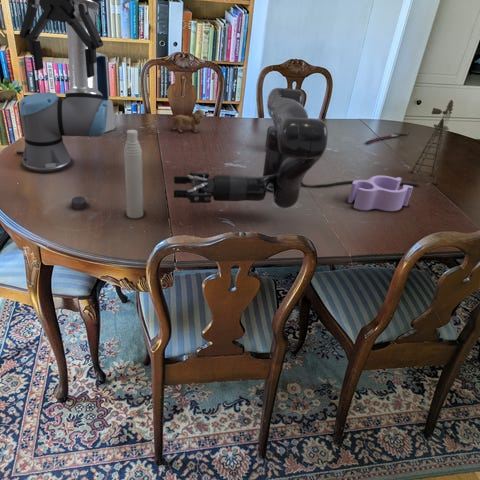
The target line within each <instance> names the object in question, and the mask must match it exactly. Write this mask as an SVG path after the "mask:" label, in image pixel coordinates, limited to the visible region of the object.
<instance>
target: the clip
mask: <svg viewBox="0 0 480 480" xmlns="http://www.w3.org/2000/svg"><path fill="white" fill-rule="evenodd" d="M402 179H403V178H402V177H399V176H398V177H393V176H389V175H374V176H371V177H370V178H369V179H355V180H352V181H353V183H351V187H350V191H349V195H348V199H347V203H348V204H349V203H350V204H352V203H353V202H354V204H353V208H354V209H356V210H360V211H370V210H373V209H374V210H375V209H376V210H380V211H383V212H396V211H399V210H401V209H402V207H403V206H404V207H408V204H409V202H410V198H411V195H412V192H413V189H414V185H403V184H402V188H401V189H399V188H400V185H401V184H400V182H402Z"/></svg>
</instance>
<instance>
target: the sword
mask: <svg viewBox="0 0 480 480" xmlns="http://www.w3.org/2000/svg"><path fill="white" fill-rule="evenodd" d="M402 133H403V132H400V133H397V132H395V133H393V134H389V135H384V136H381V137H375V138H373V139H369V140H367V141H366V142H365V145H368V144H371V143H374V142H377V141H381V140H385V139H389V138H394V137H400V136H403V135H404V136H405V134H402ZM409 134H410V132H408V134H407V135H409Z"/></svg>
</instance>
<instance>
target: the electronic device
mask: <svg viewBox="0 0 480 480" xmlns="http://www.w3.org/2000/svg"><path fill="white" fill-rule="evenodd" d="M96 57H97V61H96V62H97V86H98V91H99V92H100V93H101V94H102V95H103V100H105V101H107V104H108V107H107V122H106V128H105V132H104V133H106V132H111V131H113V130H114V129H115V127H116V116H115V110H114V102H113V100H112V99H110V88H109V87H110V86H109V71H108V70H109V69H108V55H107V54H105V53H100V52H97V51H96Z"/></svg>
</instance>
